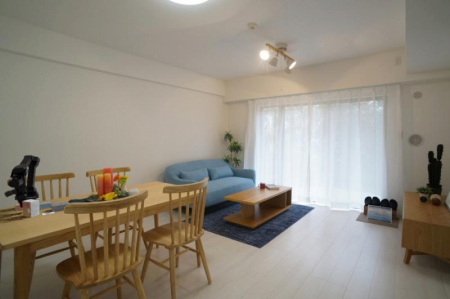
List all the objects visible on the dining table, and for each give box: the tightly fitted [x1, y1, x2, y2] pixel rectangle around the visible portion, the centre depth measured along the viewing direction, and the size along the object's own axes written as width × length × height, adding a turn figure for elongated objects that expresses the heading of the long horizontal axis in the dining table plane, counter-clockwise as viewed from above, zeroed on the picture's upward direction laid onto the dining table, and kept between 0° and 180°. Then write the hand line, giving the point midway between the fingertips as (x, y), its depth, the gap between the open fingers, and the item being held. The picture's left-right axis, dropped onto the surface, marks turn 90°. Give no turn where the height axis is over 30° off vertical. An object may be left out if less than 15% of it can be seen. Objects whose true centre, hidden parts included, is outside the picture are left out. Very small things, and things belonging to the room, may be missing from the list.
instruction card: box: [41, 211, 55, 216], centre depth 161 cm, size 5×7×1 cm
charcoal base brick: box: [50, 201, 69, 212], centre depth 170 cm, size 8×10×4 cm
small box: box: [22, 199, 40, 218], centre depth 157 cm, size 8×6×10 cm
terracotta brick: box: [14, 203, 23, 212], centre depth 162 cm, size 5×7×4 cm
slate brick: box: [39, 201, 52, 210], centre depth 173 cm, size 5×7×4 cm
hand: (21, 206), depth 162 cm, fingers closed on terracotta brick, 5 cm apart
